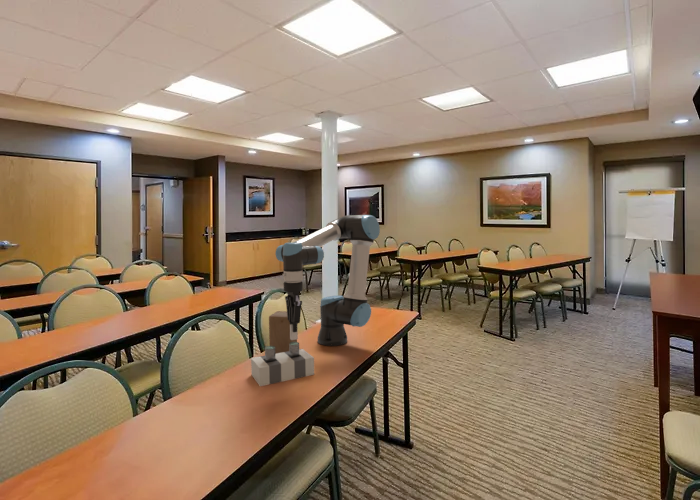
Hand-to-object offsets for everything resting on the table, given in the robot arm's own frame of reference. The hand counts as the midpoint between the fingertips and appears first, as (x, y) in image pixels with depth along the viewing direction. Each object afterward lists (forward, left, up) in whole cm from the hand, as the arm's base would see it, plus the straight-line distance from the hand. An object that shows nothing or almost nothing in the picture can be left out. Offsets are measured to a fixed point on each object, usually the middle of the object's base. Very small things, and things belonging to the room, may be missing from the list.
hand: (293, 339), depth 155 cm
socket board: (+5, 0, -14) cm, 15 cm away
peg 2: (0, 0, -9) cm, 9 cm away
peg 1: (+10, 0, -9) cm, 13 cm away
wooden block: (-2, -19, -14) cm, 24 cm away
